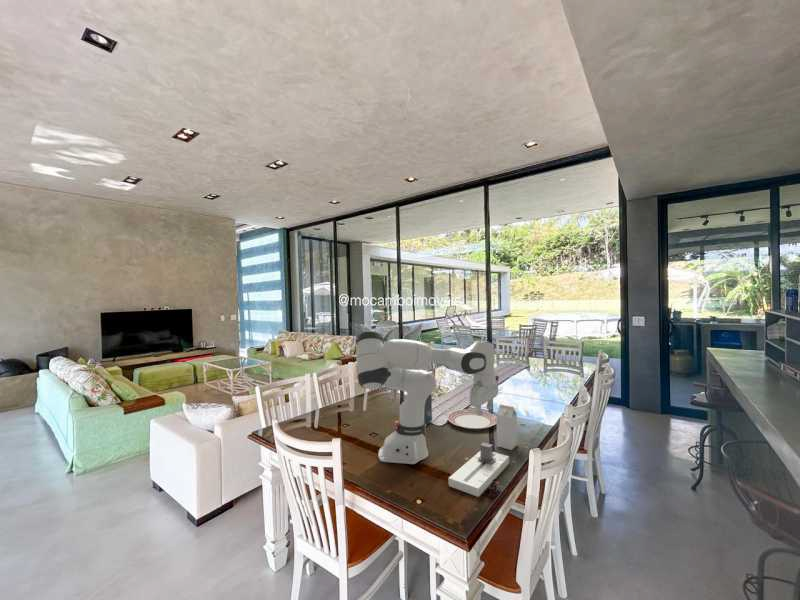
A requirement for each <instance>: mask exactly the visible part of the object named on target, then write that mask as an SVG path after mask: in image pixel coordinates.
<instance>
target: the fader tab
mask: <svg viewBox="0 0 800 600" xmlns="http://www.w3.org/2000/svg"><path fill="white" fill-rule="evenodd" d="M479 449H480V450H479V451H481V456H480V457H479V458H478V460H480V461H483V462H487V463H490V464H492V463H493V462H494V461H495V460H496V458H493V452H494V450H493V449H494V447H493V444H490V443H488V442H482V443H481V444H480V448H479Z"/></svg>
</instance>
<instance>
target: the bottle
mask: <svg viewBox="0 0 800 600" xmlns="http://www.w3.org/2000/svg"><path fill="white" fill-rule="evenodd" d="M423 370H426V371H428V369H427V368H426V369H423ZM428 372H429V371H428ZM432 397H433V395H432V394H430V395H429V396H428V398H427V399H426V402H425V407H424V422H425V424H427V423H426V422H429V423H431V422H432V421H433V410H432V409H433V408H432V405H433V404H432V403H433V402H432V401H433V400H432ZM431 420H432V421H431ZM430 421H431V422H430Z"/></svg>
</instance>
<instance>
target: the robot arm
mask: <svg viewBox="0 0 800 600" xmlns="http://www.w3.org/2000/svg"><path fill="white" fill-rule="evenodd" d="M355 352H356V353H355V354H356V355H355V357H356V358H355V360H356V365H355V373H356V376H357V381H358V382H357V383H358V385H359V387H362V388H363V389H369V390H375V389H379V388H381V387H383V388H386V389H387V388H388V389H392V390H393V389H394V390H397V391H402V392H405V393H406V399H405V400H404V401H402V403H400V405H399V421H398V420H395V421H394V424H393V425H394V426H395V428H394V431H393V432H392V433H391V434H388V435H387V436H386V437H385V439H384V442H383V445H382V446H381V447H379V450H378V454H377V455H378V457H377V458H378V460H379V461H380V462H381V463H382V462H383V463H395V464H407V465H408V464H409V465H415V464H417V463H418V462H420V461H422V460H425V459H426V458H428V457H429V452H428V448H427V443H426V432H427V431H426V430H427V429H426V423H425V422H424V407H425V402H426V399H427V398H428V396H429V395H430V394H431V395H432V394H433V393H434V391H435V389H436V387H437V379H436V377H435V375H434V374H433V373H432V372H429V371H426V370H427V369H428V367H429V366H430V364H435V365H442V366H443V367H445V368H446V369H449V370H452V371H456V372H459V373H462V374H465V375H472V377H473V379H472V380H473V381H472V382H473V385H472V386H471V388H470V391H469V392H470V393H469V405H470V407H473V408H475V410H476V411H477V415H478V416H481V415H482V411H483V410H482V406H483V405H484V404H486V409H487V410H492V409H493V402H494V399H495V398H496V397H497V396H498V395H499V381H500V376H499V374H496V370H495V361H496V359H495V356H496V355H495V347H494V345H493V343H492V342H490V341H487V340H481V339H480V340H478V339H477V340H474V341H473V343H472V344H471V345H470V346H468V347H467V348H461V347H458V346H454V345H452V346H448V347H444V348H437V347H436V348H435V347H431V346H430V345H429V344H428V343H427V342H422V341H420V340H414V339H405V338H396V339H395V338H394V339H389V340H387V341H384V337H383V335H382V333H380V332H379V331H377V330H366V331H363V332H361V333H360V334H358V336H357V338H356V351H355ZM423 369H426V370H423Z"/></svg>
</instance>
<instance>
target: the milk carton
mask: <svg viewBox="0 0 800 600" xmlns="http://www.w3.org/2000/svg"><path fill="white" fill-rule="evenodd" d="M496 417H497V423H496V446H497V447H498V448H502V449H506V450H509V451H510V450H511V451H512V450H514V448H516V447H517V446H518V415H517V411H516V410H515V407H514V406H511V405H505V404H499V405H498V410H497V413H496Z"/></svg>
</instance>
